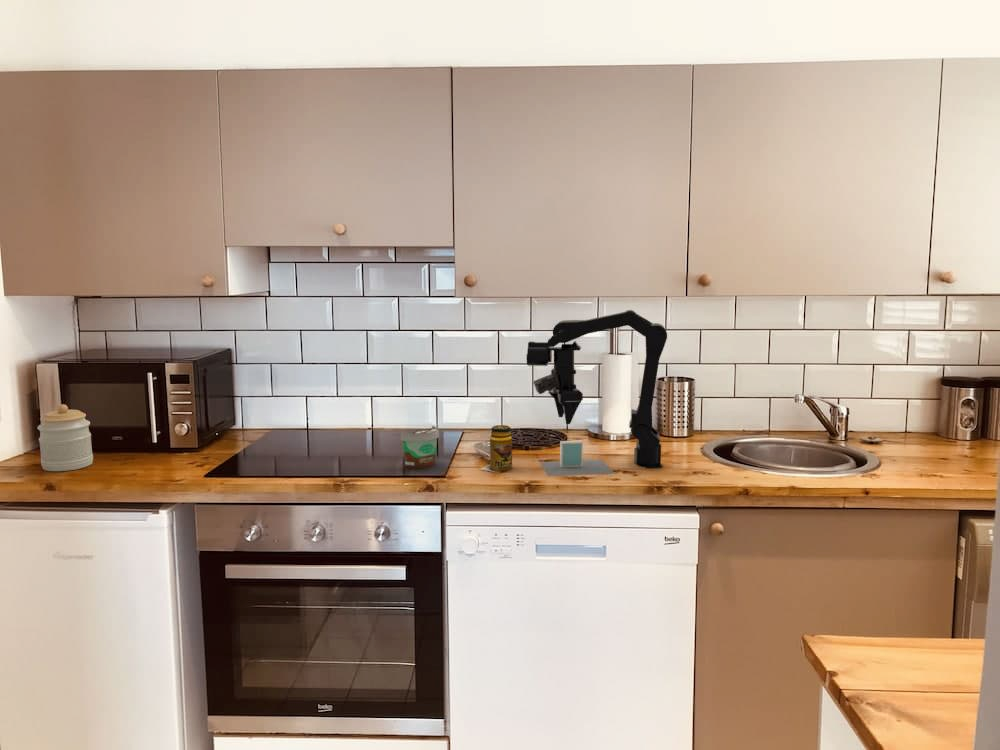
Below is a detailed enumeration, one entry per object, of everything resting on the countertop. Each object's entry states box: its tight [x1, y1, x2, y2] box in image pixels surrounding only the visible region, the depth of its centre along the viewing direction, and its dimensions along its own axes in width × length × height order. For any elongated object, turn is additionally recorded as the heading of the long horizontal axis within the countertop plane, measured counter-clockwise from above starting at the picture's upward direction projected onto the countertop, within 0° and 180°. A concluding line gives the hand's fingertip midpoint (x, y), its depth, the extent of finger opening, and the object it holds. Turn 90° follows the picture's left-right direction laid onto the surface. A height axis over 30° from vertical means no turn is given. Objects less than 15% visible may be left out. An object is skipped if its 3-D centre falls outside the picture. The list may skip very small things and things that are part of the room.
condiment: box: [479, 424, 513, 474], centre depth 218 cm, size 7×8×12 cm
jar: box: [37, 403, 94, 472], centre depth 222 cm, size 13×13×18 cm
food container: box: [400, 425, 440, 469], centre depth 222 cm, size 12×6×10 cm, turn 137°
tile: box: [559, 440, 584, 467], centre depth 219 cm, size 6×2×7 cm, turn 97°
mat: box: [539, 459, 615, 477], centre depth 218 cm, size 18×14×1 cm
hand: (564, 420), depth 224 cm, fingers open, 9 cm apart
